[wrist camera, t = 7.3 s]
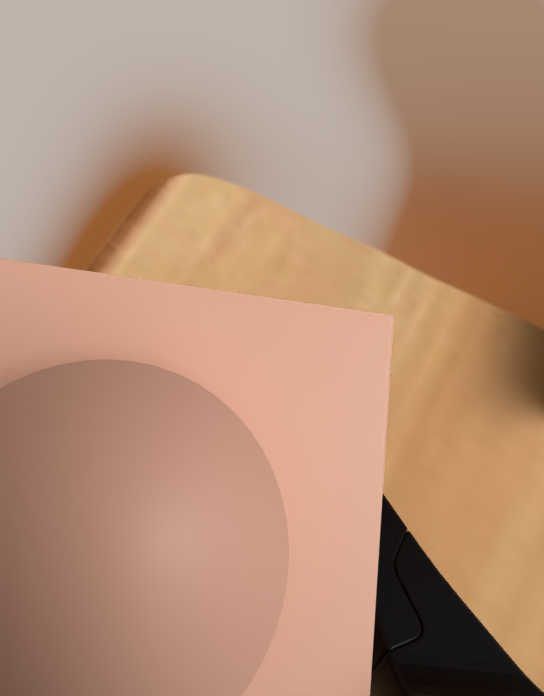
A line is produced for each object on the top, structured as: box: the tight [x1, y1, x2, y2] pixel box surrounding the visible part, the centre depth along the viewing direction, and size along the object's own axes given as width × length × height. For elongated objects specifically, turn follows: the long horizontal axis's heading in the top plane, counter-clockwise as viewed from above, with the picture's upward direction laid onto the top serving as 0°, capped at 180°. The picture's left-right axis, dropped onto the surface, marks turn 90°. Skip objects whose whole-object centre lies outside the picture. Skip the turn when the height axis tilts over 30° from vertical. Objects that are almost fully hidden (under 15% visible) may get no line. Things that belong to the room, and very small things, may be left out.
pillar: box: [0, 259, 394, 696], centre depth 9 cm, size 5×5×13 cm
